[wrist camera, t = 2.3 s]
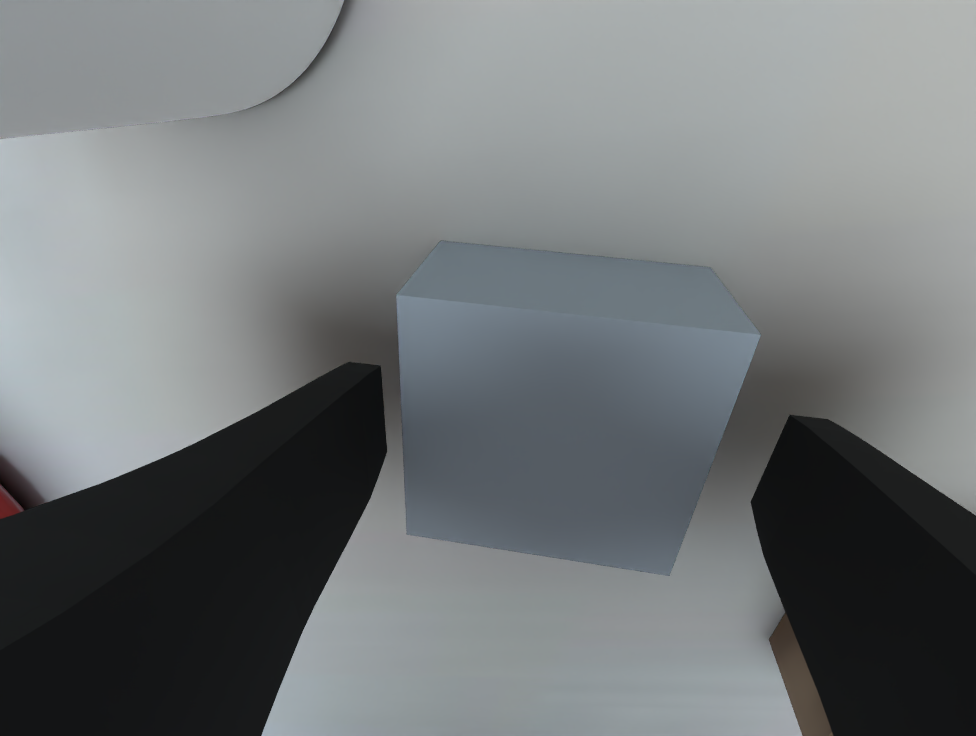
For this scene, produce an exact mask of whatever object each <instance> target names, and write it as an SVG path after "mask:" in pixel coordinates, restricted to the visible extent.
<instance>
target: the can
mask: <svg viewBox="0 0 976 736" xmlns="http://www.w3.org/2000/svg"><path fill="white" fill-rule="evenodd" d="M343 3H344V0H0V139H4V138H14V137H24V136H34V135H44V134H54V133H64V132H73V131H83V130H93V129H102V128H112V127H121V126H131V125H141V124H150V123H160V122H168V121H177V120H186V119H195V118H203V117H210V116H217V115H224V114H229V113H233V112H237V111H241V110H245V109H248V108H251V107H253V106H256V105H258V104H261V103H263V102H265V101H267V100H268V99H270V98H272V97H274V96H275V95H277V94H278V93H280V92H281V91H283V90H284V89H285V88H287V87H288V86H289V85H290V84H291V83H293V82H294V81H295V80H296V79H297V78H298V77H299V76H300V75H301V74H302V73H303V72H304V71H305V70H306V68H307V67H308V66H309V65H310V64H311V62H312V61H313V60H314V59H315V57H316V56H317V54H318V53H319V51H320V50H321V48H322V47H323V45H324V44H325V42H326V40H327V38H328V36H329V35H330V33H331V31H332V29H333V27H334V25H335V23H336V20H337V18H338V16H339V13H340V11H341V8H342V5H343Z"/></svg>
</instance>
